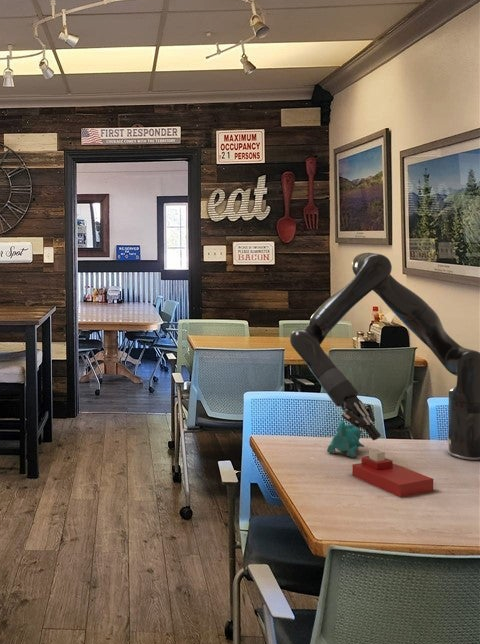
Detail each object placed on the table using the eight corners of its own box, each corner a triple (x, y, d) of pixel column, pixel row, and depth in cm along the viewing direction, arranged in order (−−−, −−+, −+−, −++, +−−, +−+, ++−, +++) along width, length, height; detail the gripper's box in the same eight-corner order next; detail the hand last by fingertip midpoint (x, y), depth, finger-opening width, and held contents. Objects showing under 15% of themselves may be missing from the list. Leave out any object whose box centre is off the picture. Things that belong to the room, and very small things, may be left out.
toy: (352, 466, 184) (381, 440, 191) (332, 430, 185) (361, 405, 193) (328, 466, 193) (356, 441, 200) (308, 431, 194) (337, 408, 202)
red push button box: (384, 470, 176) (384, 453, 176) (433, 491, 162) (433, 471, 162) (352, 475, 172) (352, 457, 172) (399, 497, 157) (400, 477, 157)
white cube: (376, 458, 173) (376, 449, 173) (384, 461, 171) (384, 452, 171) (369, 459, 172) (369, 450, 172) (377, 462, 170) (377, 453, 170)
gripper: (333, 381, 175) (374, 435, 165) (358, 376, 183) (398, 427, 173) (316, 396, 180) (355, 449, 170) (341, 390, 188) (380, 441, 178)
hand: (377, 438), depth 172 cm, fingers closed
